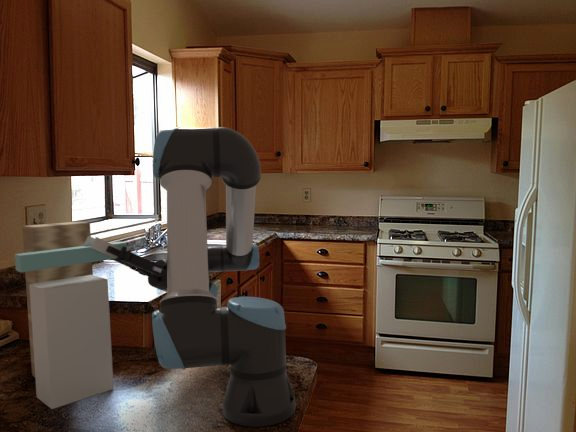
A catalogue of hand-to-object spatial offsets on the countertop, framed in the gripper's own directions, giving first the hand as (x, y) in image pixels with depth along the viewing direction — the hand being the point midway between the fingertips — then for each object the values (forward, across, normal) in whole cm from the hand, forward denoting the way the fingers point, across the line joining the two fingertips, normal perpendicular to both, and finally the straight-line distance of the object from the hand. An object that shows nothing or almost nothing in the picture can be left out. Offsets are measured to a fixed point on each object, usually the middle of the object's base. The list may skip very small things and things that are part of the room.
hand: (90, 241), depth 119 cm
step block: (-12, 0, -33) cm, 35 cm away
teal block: (+1, 0, -6) cm, 6 cm away
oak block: (-16, +16, -31) cm, 38 cm away
